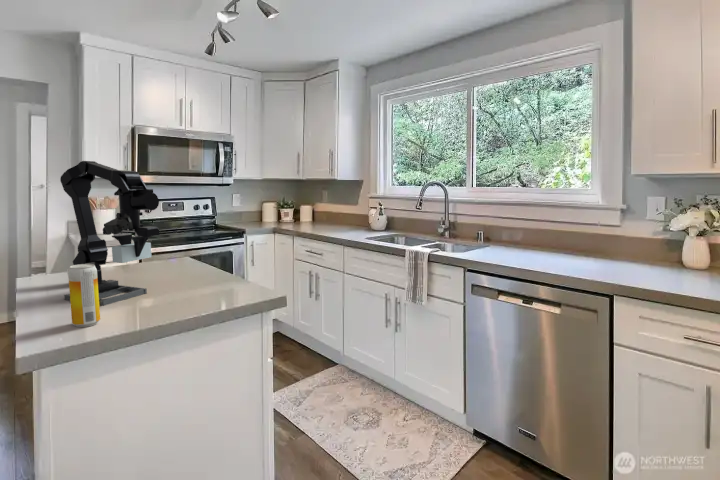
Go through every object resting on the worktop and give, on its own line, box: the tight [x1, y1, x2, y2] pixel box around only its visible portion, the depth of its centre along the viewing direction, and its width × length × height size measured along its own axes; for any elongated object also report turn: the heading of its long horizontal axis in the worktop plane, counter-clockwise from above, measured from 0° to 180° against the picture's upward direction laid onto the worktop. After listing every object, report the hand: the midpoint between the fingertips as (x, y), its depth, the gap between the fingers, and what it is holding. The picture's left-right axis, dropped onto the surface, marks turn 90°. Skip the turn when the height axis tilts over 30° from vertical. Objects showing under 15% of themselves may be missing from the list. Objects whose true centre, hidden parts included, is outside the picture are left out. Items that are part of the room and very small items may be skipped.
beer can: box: [67, 264, 101, 328], centre depth 109 cm, size 6×6×15 cm
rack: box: [63, 279, 148, 307], centre depth 135 cm, size 16×16×4 cm
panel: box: [111, 241, 153, 264], centre depth 144 cm, size 4×12×5 cm, turn 161°
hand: (132, 256), depth 144 cm, fingers closed on panel, 4 cm apart
